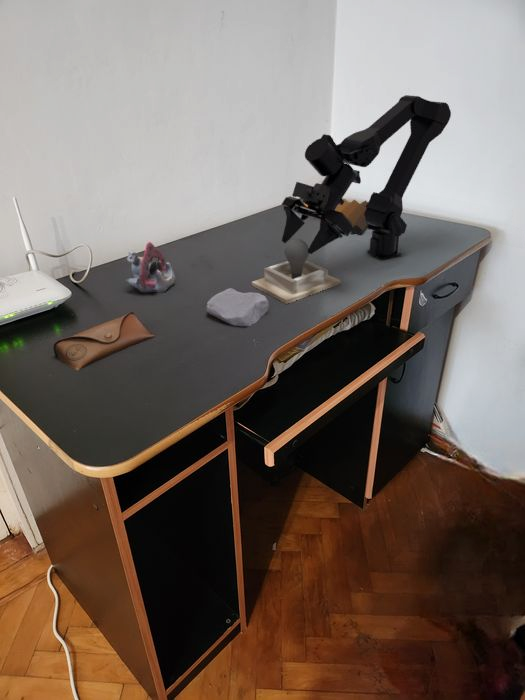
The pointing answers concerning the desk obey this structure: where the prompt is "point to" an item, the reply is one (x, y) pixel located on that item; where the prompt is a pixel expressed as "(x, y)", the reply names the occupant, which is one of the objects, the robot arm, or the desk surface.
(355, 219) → the pan flute
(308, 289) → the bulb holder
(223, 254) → the desk surface
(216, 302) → the stone block
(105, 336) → the sunglasses case
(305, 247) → the light bulb
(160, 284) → the grey and pink figurine
